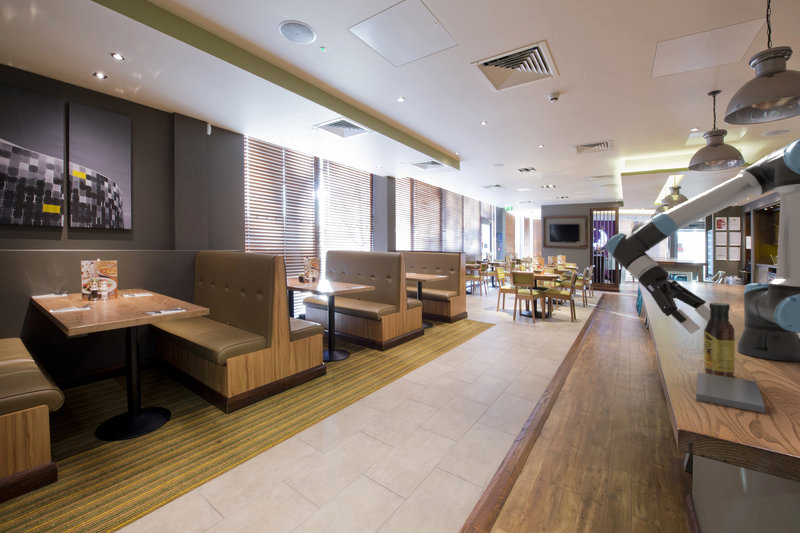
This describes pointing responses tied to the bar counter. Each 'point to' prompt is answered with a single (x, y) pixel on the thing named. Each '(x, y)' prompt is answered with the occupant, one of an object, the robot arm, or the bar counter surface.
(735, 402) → the gray rectangular mat
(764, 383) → the bar counter surface
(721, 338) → the sauce bottle
